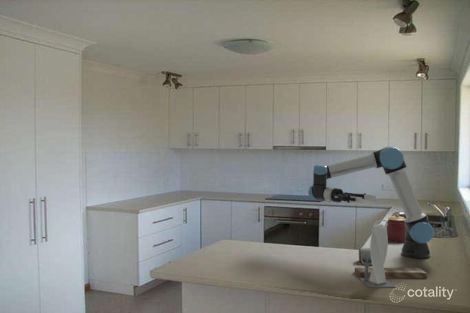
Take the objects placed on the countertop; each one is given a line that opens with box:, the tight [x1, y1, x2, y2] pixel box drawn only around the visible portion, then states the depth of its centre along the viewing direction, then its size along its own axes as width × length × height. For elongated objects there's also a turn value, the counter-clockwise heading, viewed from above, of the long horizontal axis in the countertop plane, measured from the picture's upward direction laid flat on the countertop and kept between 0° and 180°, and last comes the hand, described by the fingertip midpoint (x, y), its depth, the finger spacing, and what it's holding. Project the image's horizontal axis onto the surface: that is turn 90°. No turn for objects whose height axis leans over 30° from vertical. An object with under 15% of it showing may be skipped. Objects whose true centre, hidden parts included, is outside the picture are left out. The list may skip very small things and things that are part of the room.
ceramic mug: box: [358, 247, 372, 266], centre depth 238 cm, size 11×8×8 cm
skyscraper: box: [363, 219, 389, 285], centre depth 204 cm, size 8×8×28 cm
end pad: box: [358, 277, 396, 288], centre depth 204 cm, size 12×12×1 cm
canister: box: [386, 213, 406, 243], centre depth 296 cm, size 13×13×18 cm
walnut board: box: [354, 267, 428, 279], centre depth 217 cm, size 32×8×3 cm, turn 94°
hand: (368, 199), depth 234 cm, fingers open, 13 cm apart
